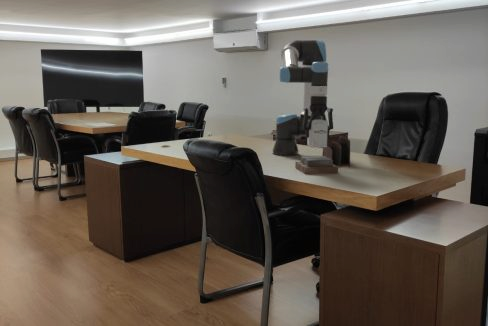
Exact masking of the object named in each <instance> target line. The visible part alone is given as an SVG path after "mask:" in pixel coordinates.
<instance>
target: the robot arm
mask: <svg viewBox="0 0 488 326" xmlns="http://www.w3.org/2000/svg"><path fill="white" fill-rule="evenodd" d="M326 47H327V46H326V43H325V42H324V41H323V40H319V39H318V40H316V39H313V40H300V39H299V40H293V41H291V42H289V43H287V44H286V45H285V46H284V47H283V48H282V49H281V53H280V57H281V60H282V63H283V64H282V65H283V66H280V68H279V82H280V83H287V84H288V83H290V84H292V83H296V84H299V83H304V85H303V108H302V109H303V110H302V111H301V112H300V115H299V116H298V114H297V113H285V114H280V115H278V116H277V117H276V122H275V125H276V126H275V129H276V130H275V131H276V132H275V142H274V145H273V148H272V155H276V156H287V157H288V156H290V157H291V156H297V155H299V152H300V151H299V147H298V143H297V137H305V138H307V139H306V140H307V146H308V145H311V131H309V130H310V127H311V123H312V120H326V121H328V131H327V138H330V131H331V130H333V129H334V121H333V119H334V118H333V110H334V108H332V107H328V105H327V103H328V97H327V95H328V76H329V64H328V62H327V48H326ZM299 63H302V66H299ZM326 111H327V117H328V120H327V117H326V114H325V113H326ZM308 120H309V122H308Z"/></svg>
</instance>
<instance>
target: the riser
mask: <svg viewBox="0 0 488 326" xmlns="http://www.w3.org/2000/svg"><path fill="white" fill-rule="evenodd" d="M294 168H295V169H296V170H298V171H300V172H301V173H303V174H304V175H317V174H318V175H319V174H320V175H324V174H325V175H326V174H327V175H328V174H330V173H331V174H339V166H335V165H333V160H332V159H330V158H327V157H325V156H322V155H311V156H310V155H309V156H306V155H305V156H304V155H303V156H301V155H300V161H295V167H294Z"/></svg>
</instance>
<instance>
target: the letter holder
mask: <svg viewBox="0 0 488 326" xmlns="http://www.w3.org/2000/svg"><path fill="white" fill-rule="evenodd" d="M321 156H325V157H327V158H330V159H332V160H333V165H335V166H337V167H351V140H350V138H348V137H346V136H343V135H341V136H339V138H338V142H337V141H334V140H333V141H331V142H330V146H328V145H327V147H322V155H321Z"/></svg>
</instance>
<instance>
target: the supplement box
mask: <svg viewBox="0 0 488 326" xmlns="http://www.w3.org/2000/svg"><path fill="white" fill-rule="evenodd" d="M326 120H327V119H326ZM326 120H312V123H311V127H310V130H309V131H311V145H308V144H307V146H308V147H310V148H312V149H313V148H323V147H327V146H328V137H327V131H328V126H329V120H327V121H326ZM308 122H309V120H308Z"/></svg>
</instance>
